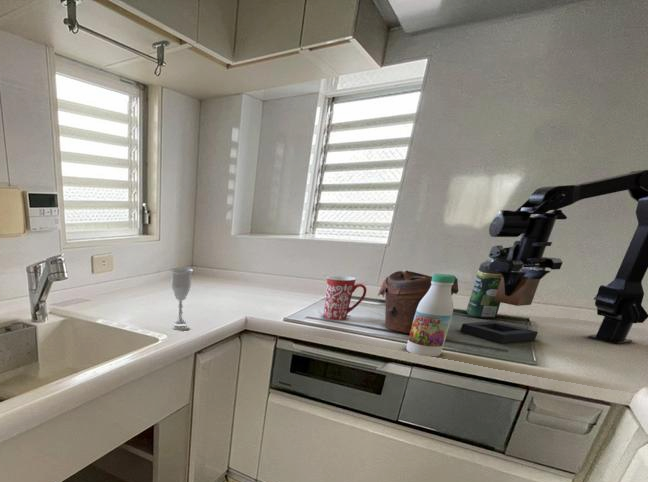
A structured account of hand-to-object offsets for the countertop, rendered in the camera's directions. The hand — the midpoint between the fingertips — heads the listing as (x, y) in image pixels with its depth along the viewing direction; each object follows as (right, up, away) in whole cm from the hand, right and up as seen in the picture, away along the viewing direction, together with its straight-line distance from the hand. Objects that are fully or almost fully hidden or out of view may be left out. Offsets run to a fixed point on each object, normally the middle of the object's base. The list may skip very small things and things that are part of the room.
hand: (514, 295), depth 114 cm
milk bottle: (-32, -17, -9) cm, 38 cm away
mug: (-38, -3, +24) cm, 45 cm away
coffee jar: (+12, -2, +26) cm, 29 cm away
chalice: (-94, -8, +14) cm, 96 cm away
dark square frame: (-2, -11, +4) cm, 12 cm away
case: (-24, -9, +11) cm, 27 cm away
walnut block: (0, -2, +1) cm, 2 cm away
